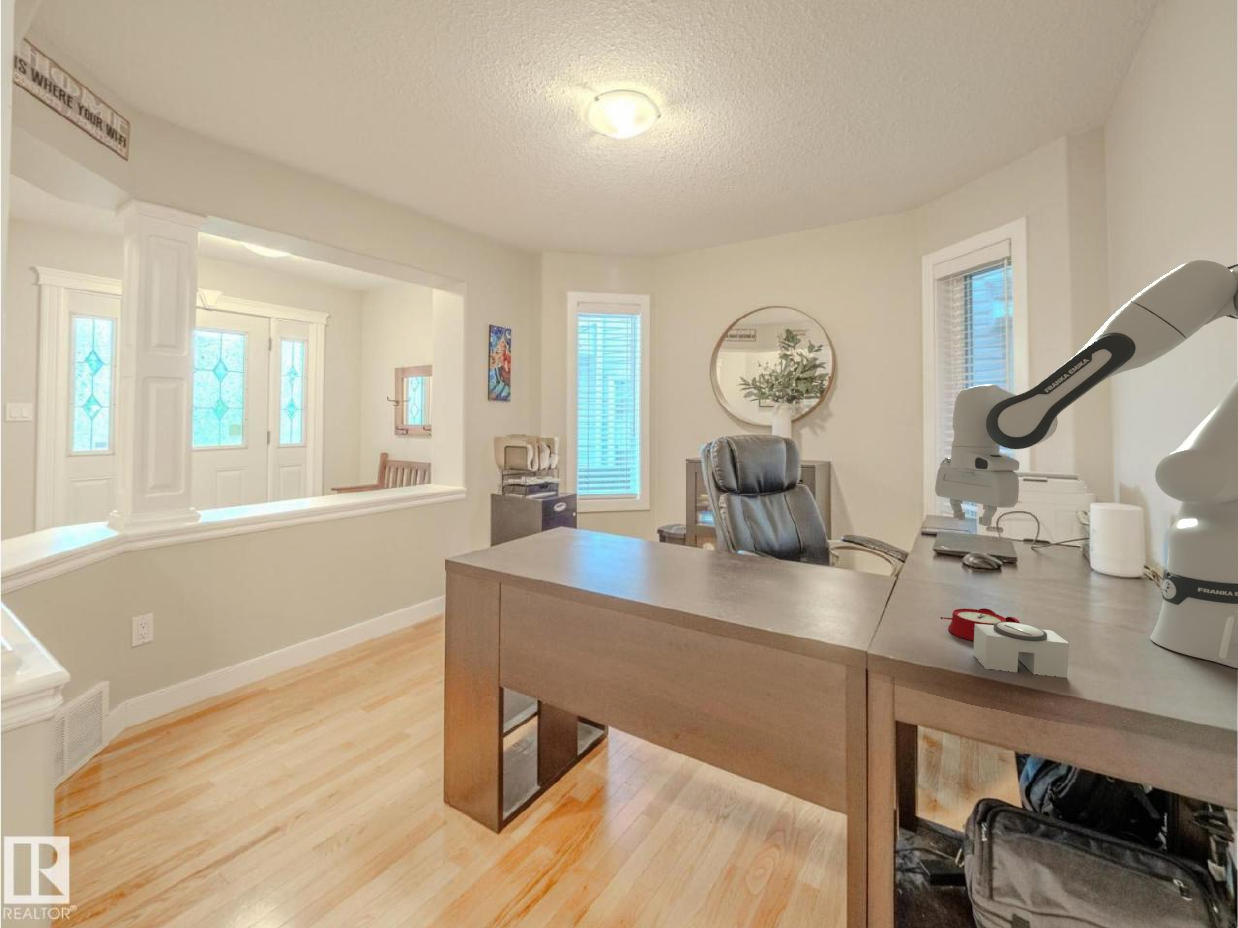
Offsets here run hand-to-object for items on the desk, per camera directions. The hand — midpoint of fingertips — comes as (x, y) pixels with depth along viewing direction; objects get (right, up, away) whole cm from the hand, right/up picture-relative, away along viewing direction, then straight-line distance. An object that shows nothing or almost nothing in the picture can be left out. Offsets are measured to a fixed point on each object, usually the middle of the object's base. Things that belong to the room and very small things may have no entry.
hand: (971, 522), depth 120 cm
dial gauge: (-7, -23, -24) cm, 34 cm away
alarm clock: (-3, -22, -9) cm, 24 cm away
